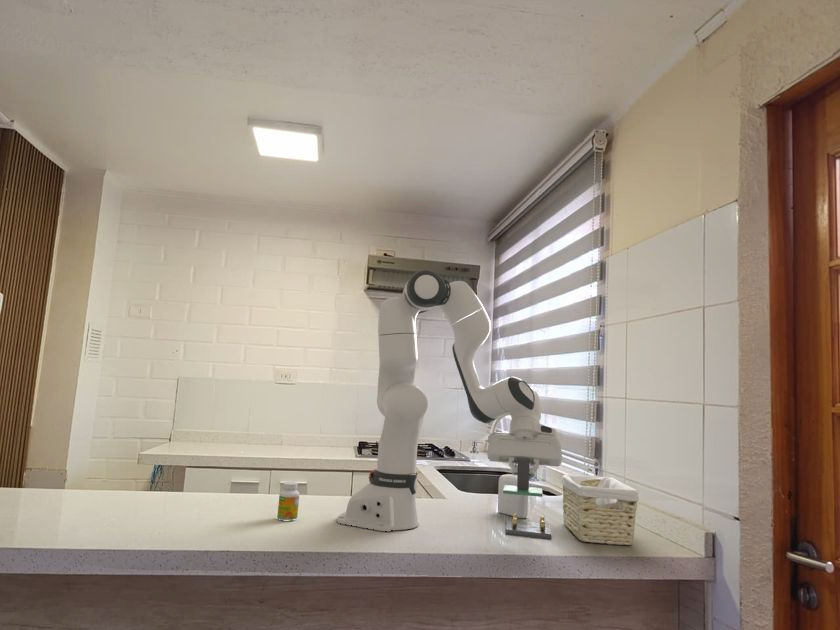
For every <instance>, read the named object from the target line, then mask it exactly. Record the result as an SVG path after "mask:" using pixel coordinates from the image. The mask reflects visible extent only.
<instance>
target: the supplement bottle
mask: <svg viewBox="0 0 840 630" xmlns="http://www.w3.org/2000/svg"><path fill="white" fill-rule="evenodd" d="M297 489H298V482H296V481H283V482H282V490H281V491H280V492H279V495H278V497H279V498H278V505H277V506H278V508H277V517H276V518H278V519H280V520H293V519H296V518H297V519H298V513H299V503H300V492H299V491H298V490H297ZM278 519H277V520H278ZM280 520H279V521H280Z"/></svg>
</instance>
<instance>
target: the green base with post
mask: <svg viewBox="0 0 840 630" xmlns="http://www.w3.org/2000/svg"><path fill="white" fill-rule="evenodd" d="M517 467H518V474H517V486H510V485H505V486H504V489H503V493H505V494H516V495H527V496H528V497H541V498H543V488H541V487H532V486H530V476H529V468H530V464H529V458H519V457H518V463H517Z"/></svg>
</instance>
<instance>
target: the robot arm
mask: <svg viewBox="0 0 840 630" xmlns="http://www.w3.org/2000/svg"><path fill="white" fill-rule="evenodd" d="M434 308H436V309H438V310H440V311H441V312H442V313H443V314H444V315H445V316H446V318H447V321H448V322H449V324H450V326H451V328H452V331H453V338H454V343H453V344H452V347H451V349H452V355H453V358H454V362H455V364H456V369H457V371H458V373H459V376H460V380H461V382H462V383H461V384H462V385H463V388H464V391H465V395H466V397H467V404H468V408H469V412H470V414H471V416H472V417H473V418H474V419H475V420H477V421H478V422H481V423H483V424H491V423H492V422H494V421H496V420H498V419H499V418H501V417H504V416H507V415H510V418H511V420H510V423H509V432H499V431H493V432H492V433H490V434H488V437H487V443H488V445H487V450H486V451H487V453H486V454H487V459H488V460H489V461H490V462H495V463H507V464H508V466H509V468H510V469H511V474H512V475H517V474H518V465H516V466H515V464H518V457H519V458H529V465H533V466H532V467H529V478H531V477H532V478H533V477H535V475H536V474H535V473H536V472H537V470H538V469H539V467H540V466H545V467H547V466H548V467H556V468H557V467H560V466H561V465H562V464H563V463H562V462H563V454H562V453H563V452H562V446H561V442H560V439H558V436H557V430H556V428H554V427H551V426H547V425H545V424H542V423H541V422H540V421H541V417H542V407H541V401H540V400H541V399H540V396H539V393H538V392H537V390H535V388H533V387H531V386H530V385H529V384H528V383H527V382H526V381H525V380H523V379H521V378H519V377H517V376H513V375H512V376H509V377H506V378H504V379H500V380H499V381H497V382H495V383H494V384H491V385H489V386H486V387H483V386H482V384H481V381H480V378H479V375H478V372H477V370H476V367H475V363H474V358H475V355H476V353H477V351H478V350H479V349H480V348H481V346H482V345H483V344H485V341H486V340H488V337H489V335H490V333H491V330H492V329H491V328H492V327H491V326H492V323H491V320H490V317H489V315H488V313H487V311H486V309H485V307H484V306H483V303H482V302H481V300H480V299H479V297H478V296H477V294H476V292H475V291H474V290H473V288H471V286H470V285H469V284H468V283H467V282H466V281H463V280H456V281H451V282H450V281H448V280H446V279H445V278H444V277H441V276H440V275H439V274H438V273H437V272H434V271H433V270H427V269H422V270H418V271H416V272H414V273H413V274H412V275H411V276H410V277H409V279H408V280H407V281H406V283H405V286H404V288H403V291H402V293H401V295H398V296H391V297H389V298H386V299H385V300H383V301H382V302H381V304H380V306H379V312H378V323H377V325H378V326H377V329H378V330H377V335H378V355H379V356H378V357H379V360H378V361H379V362H378V363H379V365H378V367H379V368H378V377H377V379H378V380H377V397H376V405H377V409H378V410H379V412H380V413H381V415H382V416H383V417H384V422H383V426H382V431H381V435H380V437H379V440H378V449H377V450H378V452H377V462H376V464H377V465H376V468H374V469H372V471H371V472H370V473H369V474H368V479H369V480H368V481H369V483H367V484H366V485H365V486H363V487H362V488H361V489H359V490H358V491H357V492H355V493H354V494H353V495H352V496H351V497H350V498H349V500H348V501H347V502H348V503H347V506H346V509H345V511H344V512H342V513H340V514H339V515H338V516H337V521H338V522H337V523H338V524H340V523H341V524H340V525H345V524H346V526H351V525H352V526H353V527H356V526H357V528H363V529H367V528H368V529H369V530H373V529H374V530H375V531H379V532H385V531H387V532H392V531H391V530H393V531H401V530H403V531H404V530H409V529H410V530H411V529H414V528H416V527H418V526H419V524H420V523H419V521H418V520H419V519H418V513H417V505H416V493H417V490H418V489H417V488H418V472H417V461H418V460H417V459H418V457H417V456H418V444H419V440H420V435H421V431H422V426H423V421H424V417H425V414H426V412H427V410H428V404H429V403H428V398H427V396H426V393H425V392H424V391H423V390H422V389H421V388H420V387H419V386H417V385H415V376H416V368H417V364H418V342H417V339H418V338H417V326H416V323H417V321H416V320H417V316H418V315H420V314H422V313H425V312H428V311H430V310H432V309H434ZM352 526H351V527H352ZM374 530H373V531H374Z"/></svg>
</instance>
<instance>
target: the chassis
mask: <svg viewBox="0 0 840 630" xmlns="http://www.w3.org/2000/svg"><path fill="white" fill-rule="evenodd" d="M550 524H551V523H546V520H545V516H543V515H540V516H539V522H537V521H535V522H534V521H527V520H520V519H519V520H518V517H517V514H515V513H514V514H513V516H512V519H507V523H506V526H505V527H506V528H505V534H506V535H514V536H521V537H531V538H541V539H547V540H549V539H550V540H552V530H551V525H550Z"/></svg>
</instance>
